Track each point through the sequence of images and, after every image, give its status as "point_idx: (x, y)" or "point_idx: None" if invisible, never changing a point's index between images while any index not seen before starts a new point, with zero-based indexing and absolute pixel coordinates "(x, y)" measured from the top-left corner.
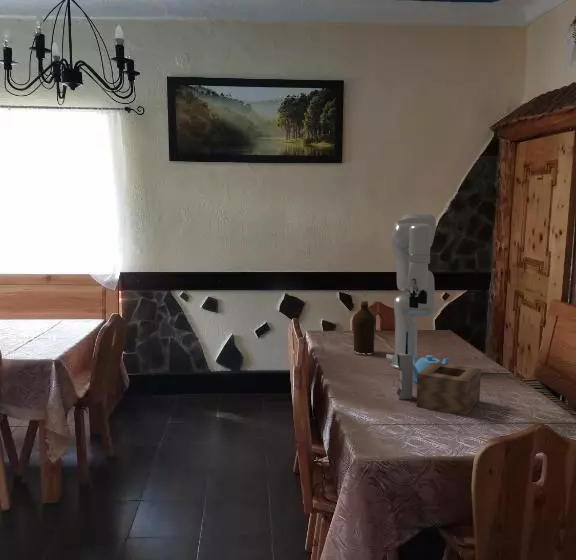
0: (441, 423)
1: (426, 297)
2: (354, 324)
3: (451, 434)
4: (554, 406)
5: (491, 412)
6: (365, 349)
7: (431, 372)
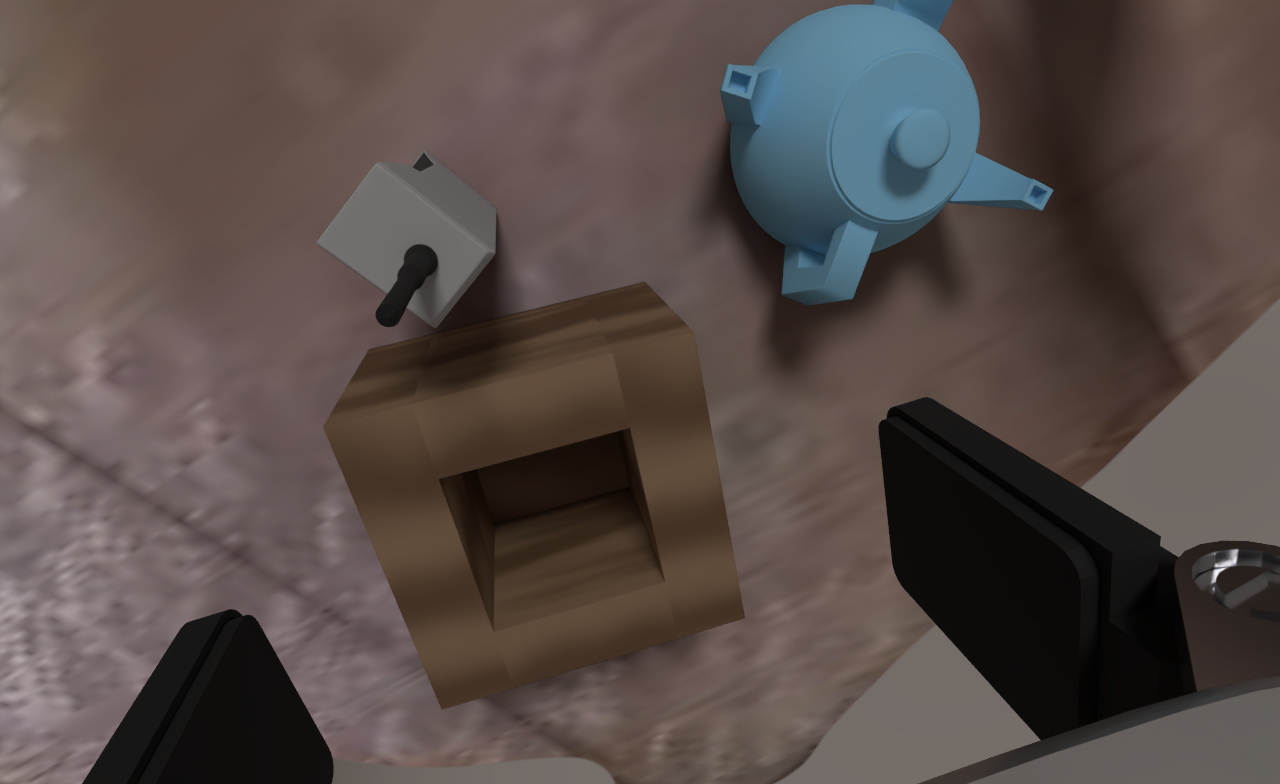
0: (269, 565)
1: (1005, 688)
2: None
3: None
4: (825, 716)
5: None
6: None
7: (440, 472)
